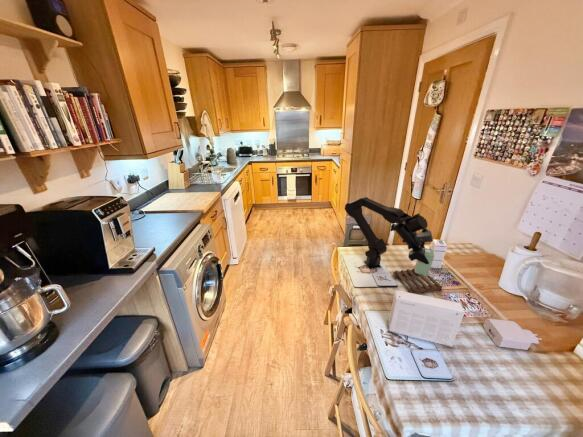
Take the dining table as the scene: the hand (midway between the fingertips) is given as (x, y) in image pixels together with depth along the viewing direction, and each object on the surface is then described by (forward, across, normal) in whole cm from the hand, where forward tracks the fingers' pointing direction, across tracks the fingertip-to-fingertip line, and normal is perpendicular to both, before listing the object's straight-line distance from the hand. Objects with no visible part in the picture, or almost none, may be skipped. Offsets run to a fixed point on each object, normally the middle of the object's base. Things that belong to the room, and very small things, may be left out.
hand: (427, 260), depth 106 cm
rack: (+8, -1, +11) cm, 14 cm away
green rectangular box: (+4, 0, +6) cm, 7 cm away
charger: (+30, -19, -12) cm, 38 cm away
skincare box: (+9, -32, +10) cm, 34 cm away
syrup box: (+14, +20, +6) cm, 25 cm away
